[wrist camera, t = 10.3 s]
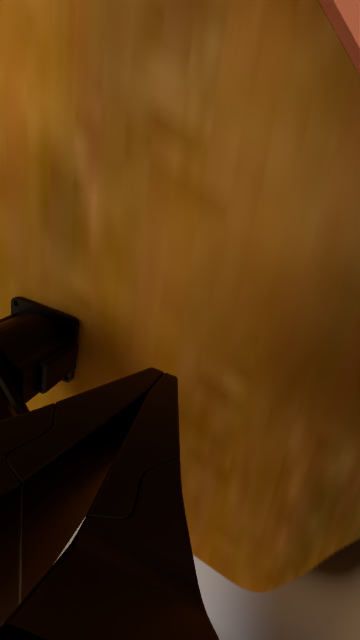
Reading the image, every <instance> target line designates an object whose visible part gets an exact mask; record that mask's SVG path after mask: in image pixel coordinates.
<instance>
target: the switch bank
mask: <svg viewBox="0 0 360 640" xmlns="http://www.w3.org/2000/svg"><path fill="white" fill-rule="evenodd" d="M318 1H319V2H320V4H321V6H322V8H323V10H324V11H325V13H326V15H327V17H328V19H329V20H330V22H331V24H332V26H333V28H334V29H335V31H336V33H337V35H338V37H339V38H340V40H341V42H342V44H343V46H344V47H345V49H346V51H347V53H348V55H349V56H350V58H351V60H352V62H353V64H354V65H355V67H356V69H357V71H358V73H359V74H360V0H318Z"/></svg>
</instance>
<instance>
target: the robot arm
mask: <svg viewBox="0 0 360 640" xmlns="http://www.w3.org/2000/svg"><path fill="white" fill-rule="evenodd" d="M17 302H18V303H17ZM72 322H73V324H74V325H72ZM78 331H79V321H78V320H77V319H76V318H75V317H72V316H69V315H67V314H64V313H61V312H59V311H56V310H53V309H51V308H48V307H45V306H43V305H40V304H37V303H35V302H32V301H29V300H27V299H24V298H21V297H15V298H13V299H12V300H11V315H10V316H7V317H5V318H3V319H0V640H219V638H218V636H217V634H216V632H215V630H214V628H213V626H212V624H211V622H210V620H209V617H208V615H207V613H206V610H205V607H204V604H203V601H202V598H201V593H200V589H199V585H198V580H197V576H196V570H195V565H194V560H193V554H192V548H191V543H190V537H189V532H188V526H187V521H186V515H185V509H184V502H183V495H182V484H181V468H180V442H179V410H178V379H177V377H176V376H173V375H170V374H168V373H164V372H163V371H160V370H158V369H155V368H148V369H146V370H143V371H140V372H137V373H135V374H132V375H129V376H126V377H124V378H121V379H118V380H115V381H113V382H110V383H107V384H105V385H102V386H99V387H96V388H94V389H91V390H88V391H85V392H83V393H80V394H77V395H75V396H72V397H69V398H66V399H64V400H61V401H58V402H56V404H54V403H52V404H50V405H47V406H44V407H41V408H39V409H36V410H33V411H29V409H28V407H27V406H26V404H25V403H27V402H28V401H29V400H30V399H32V398H33V397H34V396H36V395H37V394H38V393H42V394H44V393H46V392H47V391H49V390H50V389H51V388H52V387H53V386H55V385H56V384H57V383H58V382H60V381H61V380H62V381H65V382H70V381H71V380H72V379H73V378H74V369H75V368H76V361H77V351H78V344H77V341H78ZM67 376H68V377H67ZM85 517H86V518H85ZM84 518H85V519H84ZM83 520H84V521H83ZM82 521H83V523H82ZM81 523H82V525H81V527H80V529H79V530H78V532H77V534H76V536H75V537H74V539H73V541H72V542H71V544H70V545H69V547H68V548H67V549H66V550H65V552H64V553H63V554H62V555H61V556H60V557H59V555H60V553H61V552H62V551H63V549H64V548H65V546H66V545H67V543H68V542H69V540H70V539H71V537H72V536H73V534H74V533H75V531H76V530H77V528H78V527H79V525H80V524H81ZM58 557H59V559H58V560H57V558H58ZM56 560H57V561H56ZM55 561H56V562H55ZM53 564H54V565H53Z"/></svg>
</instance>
